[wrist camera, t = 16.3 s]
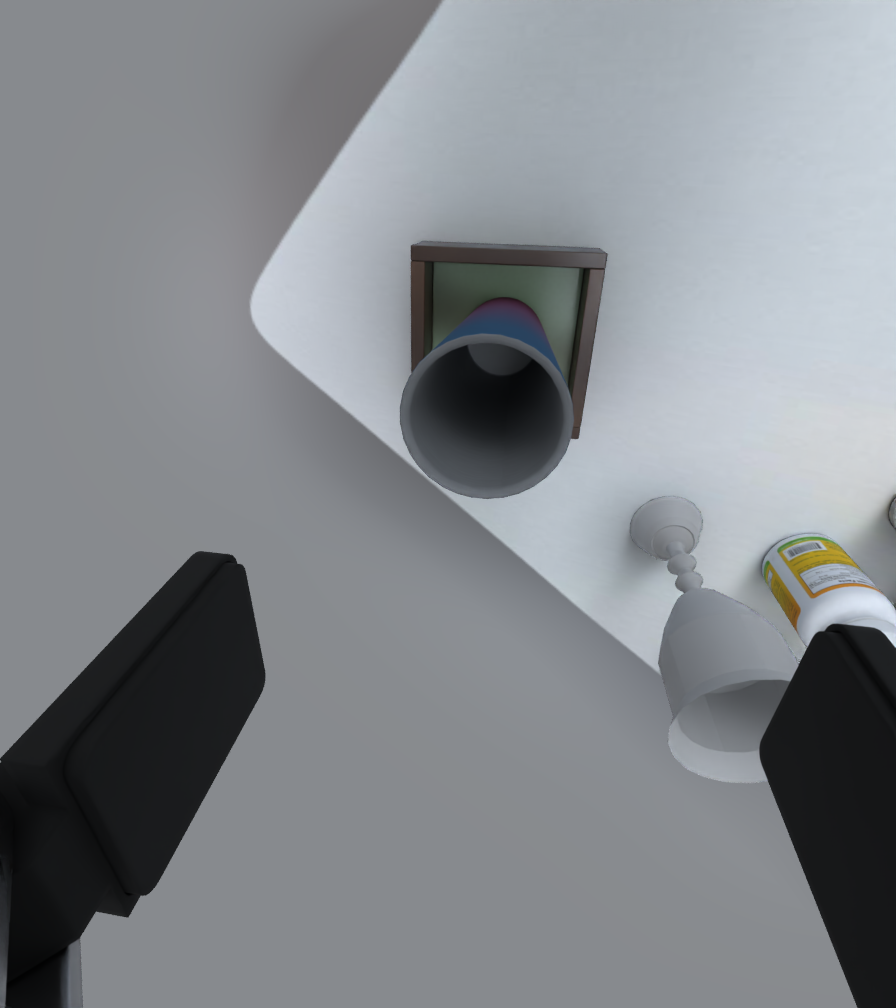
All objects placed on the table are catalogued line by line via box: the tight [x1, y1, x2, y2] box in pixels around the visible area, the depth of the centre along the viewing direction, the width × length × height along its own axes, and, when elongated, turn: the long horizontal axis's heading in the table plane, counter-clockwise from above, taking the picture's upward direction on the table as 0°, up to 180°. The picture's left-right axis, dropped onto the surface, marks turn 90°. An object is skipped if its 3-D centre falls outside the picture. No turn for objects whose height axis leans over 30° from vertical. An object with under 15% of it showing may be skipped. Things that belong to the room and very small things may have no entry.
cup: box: [400, 297, 574, 499], centre depth 28 cm, size 7×7×15 cm
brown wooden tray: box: [411, 241, 608, 439], centre depth 33 cm, size 11×11×4 cm
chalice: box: [630, 496, 799, 783], centre depth 32 cm, size 7×7×18 cm
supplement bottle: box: [762, 534, 896, 648], centre depth 36 cm, size 5×5×10 cm
